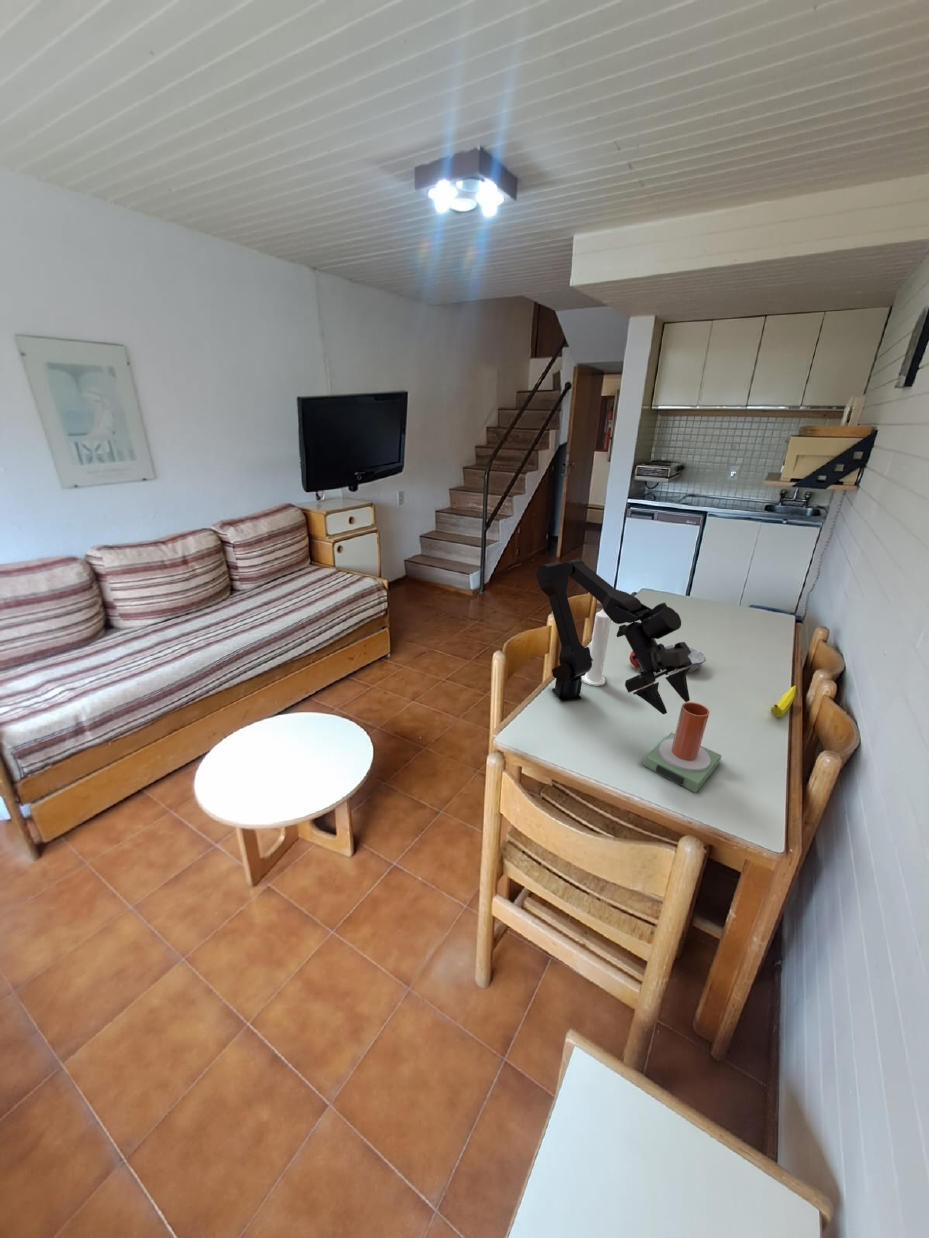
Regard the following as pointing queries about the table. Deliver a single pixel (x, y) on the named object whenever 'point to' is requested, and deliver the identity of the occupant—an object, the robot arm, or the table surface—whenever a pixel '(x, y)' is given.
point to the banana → (784, 703)
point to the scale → (682, 764)
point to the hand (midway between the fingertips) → (676, 707)
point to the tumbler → (690, 731)
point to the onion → (634, 661)
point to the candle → (598, 649)
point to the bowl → (693, 658)
